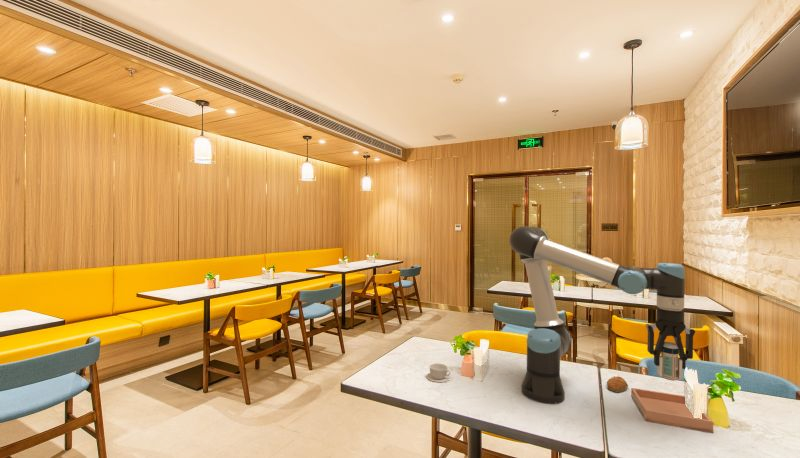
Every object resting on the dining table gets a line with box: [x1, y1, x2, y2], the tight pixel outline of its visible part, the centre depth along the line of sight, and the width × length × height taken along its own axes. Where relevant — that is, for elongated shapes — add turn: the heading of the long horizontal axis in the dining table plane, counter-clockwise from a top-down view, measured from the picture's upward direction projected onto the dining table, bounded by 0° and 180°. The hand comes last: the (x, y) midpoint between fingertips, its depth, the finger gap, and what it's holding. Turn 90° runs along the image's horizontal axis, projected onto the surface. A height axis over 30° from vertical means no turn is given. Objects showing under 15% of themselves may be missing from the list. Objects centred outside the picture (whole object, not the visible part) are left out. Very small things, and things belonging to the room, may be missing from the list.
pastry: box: [606, 375, 629, 393], centre depth 137 cm, size 9×7×4 cm
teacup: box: [425, 362, 451, 383], centre depth 144 cm, size 10×10×5 cm
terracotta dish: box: [630, 387, 714, 434], centre depth 119 cm, size 18×18×4 cm
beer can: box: [660, 341, 679, 382], centre depth 119 cm, size 5×5×12 cm
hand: (669, 376), depth 119 cm, fingers closed on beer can, 5 cm apart
